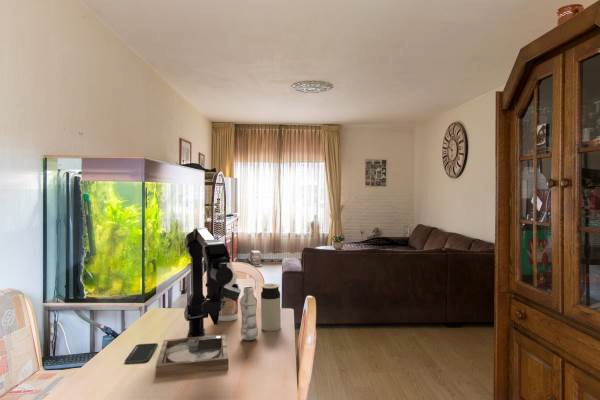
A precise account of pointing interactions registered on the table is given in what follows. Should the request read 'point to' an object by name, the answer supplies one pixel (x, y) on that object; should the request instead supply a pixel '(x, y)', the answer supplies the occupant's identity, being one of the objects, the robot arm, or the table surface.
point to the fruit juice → (229, 300)
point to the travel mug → (270, 307)
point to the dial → (195, 349)
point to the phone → (141, 353)
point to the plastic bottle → (248, 314)
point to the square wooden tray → (194, 365)
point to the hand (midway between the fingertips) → (216, 324)
